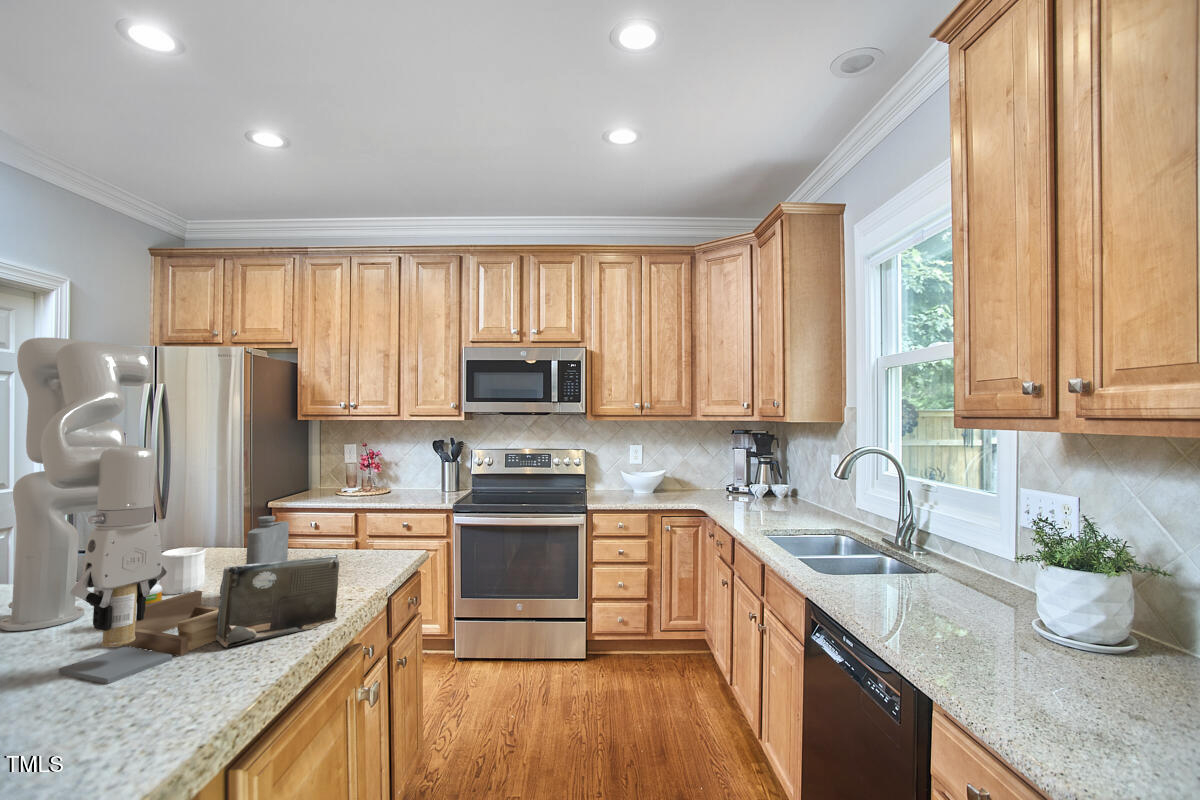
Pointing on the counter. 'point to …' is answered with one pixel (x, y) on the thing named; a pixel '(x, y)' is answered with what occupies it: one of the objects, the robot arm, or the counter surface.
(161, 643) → the rack
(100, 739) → the counter surface
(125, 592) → the sprinkles bottle
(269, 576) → the radio
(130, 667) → the rubber mat
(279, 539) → the hip flask
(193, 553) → the cup
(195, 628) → the offcut stack
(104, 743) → the counter surface
